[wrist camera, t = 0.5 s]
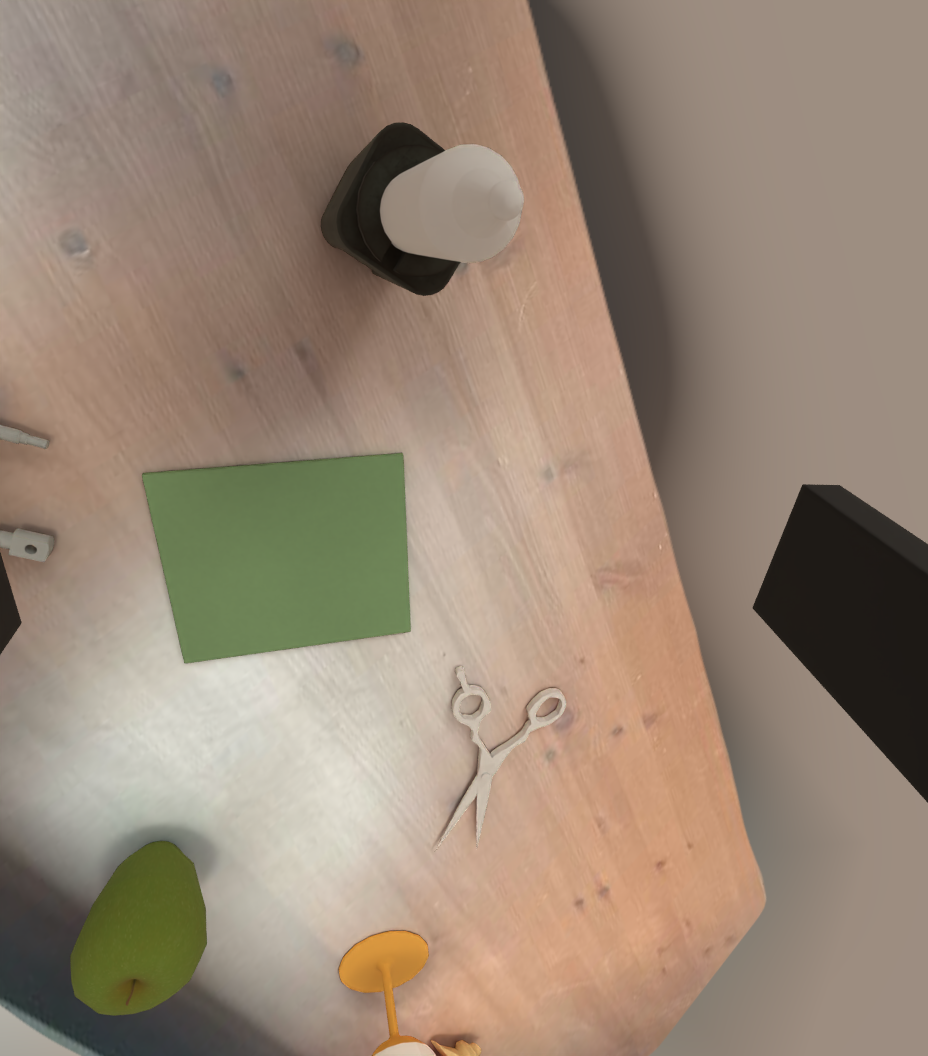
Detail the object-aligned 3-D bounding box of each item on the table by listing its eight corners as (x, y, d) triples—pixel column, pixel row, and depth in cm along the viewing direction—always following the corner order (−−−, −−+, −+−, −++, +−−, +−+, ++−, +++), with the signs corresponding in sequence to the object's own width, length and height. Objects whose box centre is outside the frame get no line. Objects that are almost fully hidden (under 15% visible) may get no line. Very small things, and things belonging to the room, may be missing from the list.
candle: (435, 205, 37) (657, 166, 15) (390, 285, 38) (534, 358, 16) (358, 147, 35) (482, 0, 13) (313, 233, 36) (356, 235, 14)
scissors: (576, 679, 54) (509, 853, 60) (572, 674, 54) (506, 846, 61) (458, 670, 50) (401, 856, 57) (456, 665, 51) (399, 848, 58)
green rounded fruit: (140, 905, 53) (105, 1064, 43) (76, 846, 49) (21, 1007, 39) (237, 858, 53) (225, 1004, 43) (181, 797, 49) (154, 942, 39)
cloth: (142, 472, 39) (141, 474, 39) (402, 452, 42) (403, 454, 42) (185, 660, 45) (184, 663, 44) (409, 628, 48) (410, 631, 48)
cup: (322, 986, 63) (333, 1203, 49) (364, 924, 61) (388, 1133, 47) (401, 993, 67) (432, 1197, 53) (444, 935, 65) (488, 1132, 51)
